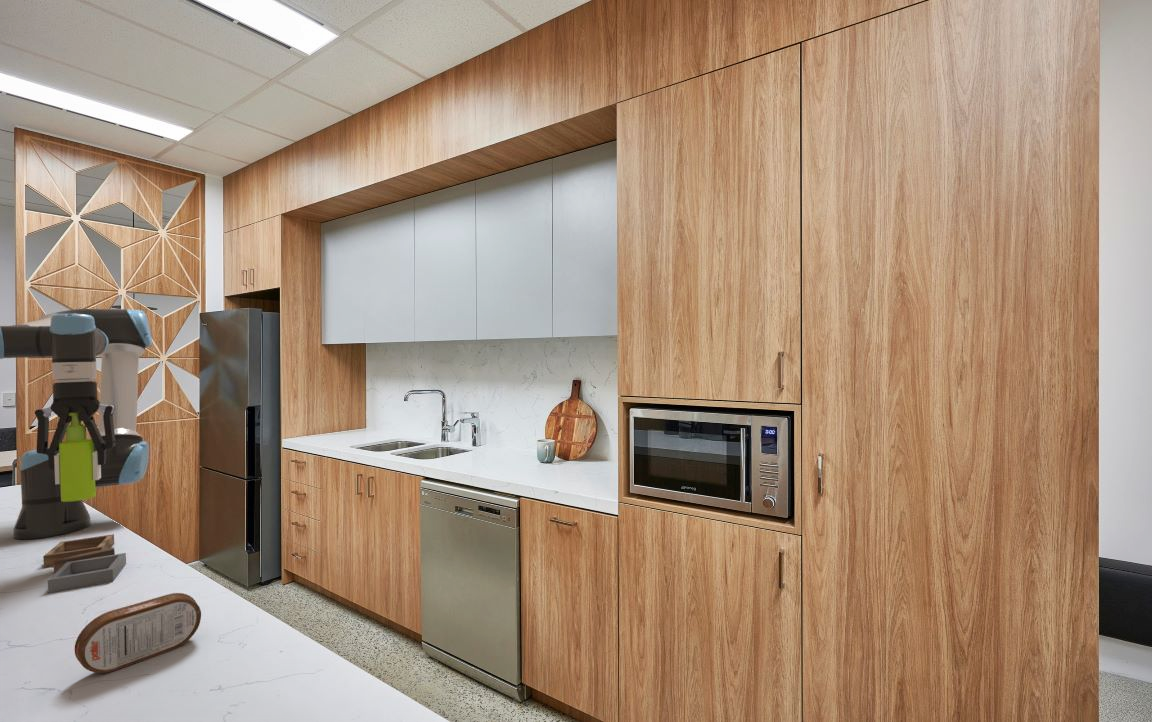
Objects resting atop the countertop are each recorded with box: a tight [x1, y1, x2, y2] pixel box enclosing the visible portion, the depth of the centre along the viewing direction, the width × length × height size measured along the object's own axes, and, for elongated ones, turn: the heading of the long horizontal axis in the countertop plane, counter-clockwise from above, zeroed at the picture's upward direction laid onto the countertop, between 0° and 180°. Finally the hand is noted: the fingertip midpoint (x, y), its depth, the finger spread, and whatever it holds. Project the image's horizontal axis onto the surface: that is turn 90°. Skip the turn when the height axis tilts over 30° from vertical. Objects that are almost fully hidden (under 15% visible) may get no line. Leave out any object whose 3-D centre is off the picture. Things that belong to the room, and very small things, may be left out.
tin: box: [74, 592, 202, 674], centre depth 82 cm, size 15×3×8 cm, turn 141°
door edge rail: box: [53, 546, 116, 575], centre depth 121 cm, size 2×10×2 cm, turn 136°
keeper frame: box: [47, 552, 127, 594], centre depth 114 cm, size 11×10×2 cm
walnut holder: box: [42, 533, 115, 568], centre depth 128 cm, size 11×10×2 cm
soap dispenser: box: [59, 411, 97, 502], centre depth 124 cm, size 6×7×20 cm
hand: (78, 480), depth 124 cm, fingers closed on soap dispenser, 6 cm apart
